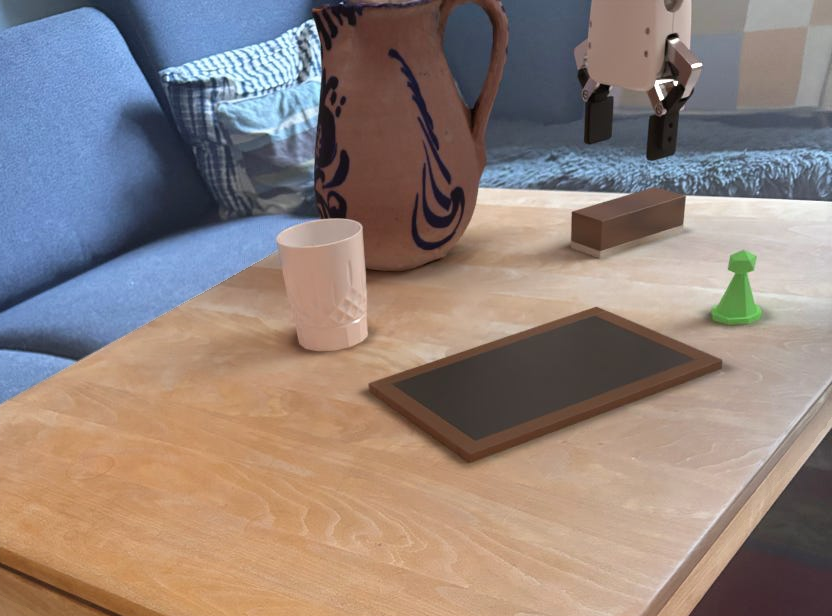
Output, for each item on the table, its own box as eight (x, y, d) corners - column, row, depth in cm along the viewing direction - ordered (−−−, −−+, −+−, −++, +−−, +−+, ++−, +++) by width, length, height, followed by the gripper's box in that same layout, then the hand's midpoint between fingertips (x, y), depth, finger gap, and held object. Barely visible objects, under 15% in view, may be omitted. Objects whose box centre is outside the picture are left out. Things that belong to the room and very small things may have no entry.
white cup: (327, 363, 89) (310, 252, 83) (277, 343, 94) (258, 238, 88) (391, 334, 93) (380, 226, 86) (339, 317, 98) (326, 213, 91)
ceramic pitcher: (309, 253, 115) (273, 3, 99) (477, 217, 118) (467, -31, 102) (347, 299, 101) (312, 18, 86) (535, 257, 104) (535, -21, 88)
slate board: (596, 316, 90) (596, 306, 89) (721, 371, 78) (723, 359, 78) (369, 393, 83) (367, 382, 83) (470, 466, 72) (469, 454, 71)
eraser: (651, 224, 108) (654, 186, 105) (682, 234, 104) (686, 195, 102) (570, 250, 105) (571, 211, 102) (600, 261, 101) (601, 221, 99)
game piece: (753, 330, 84) (763, 260, 80) (703, 325, 86) (710, 256, 82) (767, 312, 86) (778, 243, 82) (718, 307, 88) (726, 239, 85)
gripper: (744, -61, 83) (717, 156, 94) (613, -63, 95) (603, 128, 106) (675, -47, 81) (656, 173, 92) (550, -51, 93) (547, 143, 104)
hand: (628, 149), depth 99 cm, fingers open, 9 cm apart
